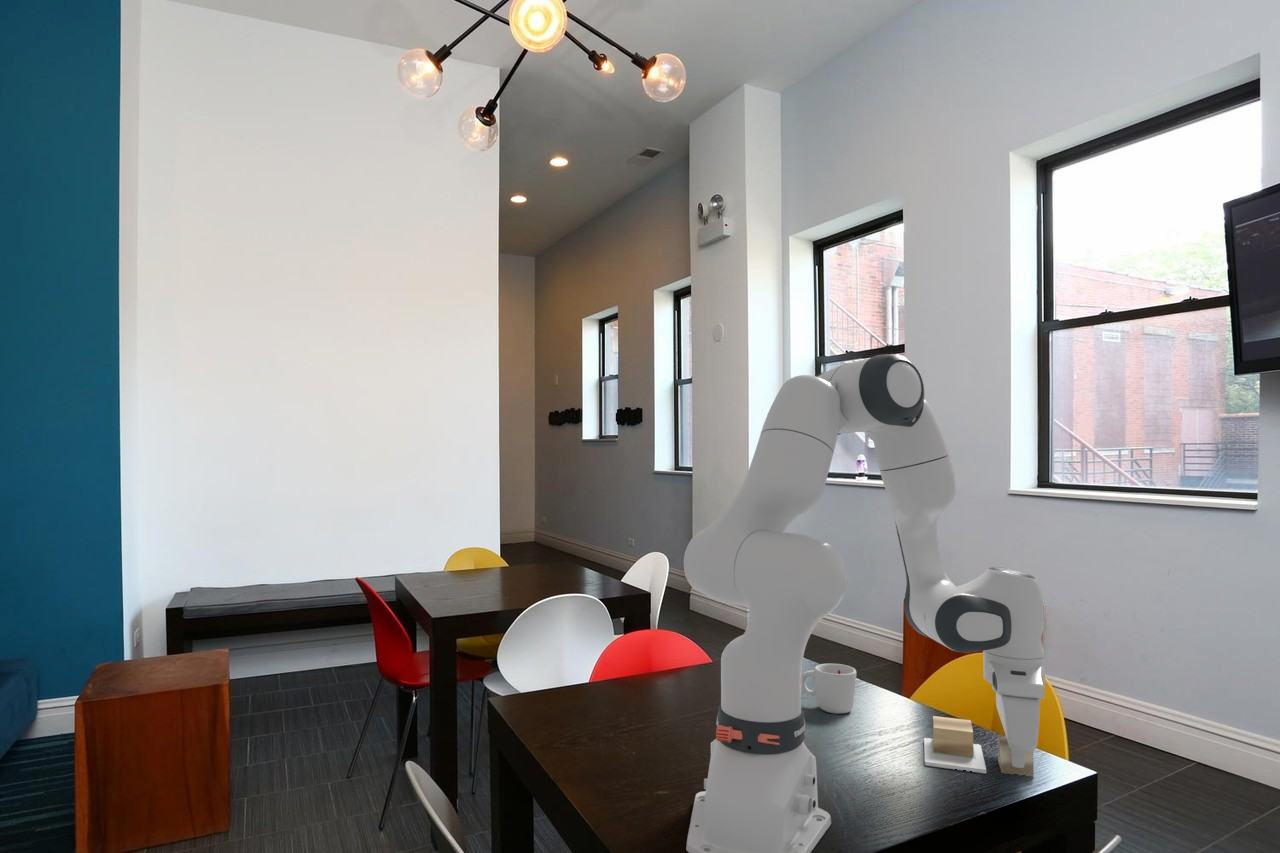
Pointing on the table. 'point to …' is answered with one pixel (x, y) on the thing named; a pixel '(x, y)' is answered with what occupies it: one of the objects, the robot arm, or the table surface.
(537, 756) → the table surface
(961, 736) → the oak block
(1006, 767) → the maple block
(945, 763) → the plate
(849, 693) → the cup
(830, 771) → the table surface
